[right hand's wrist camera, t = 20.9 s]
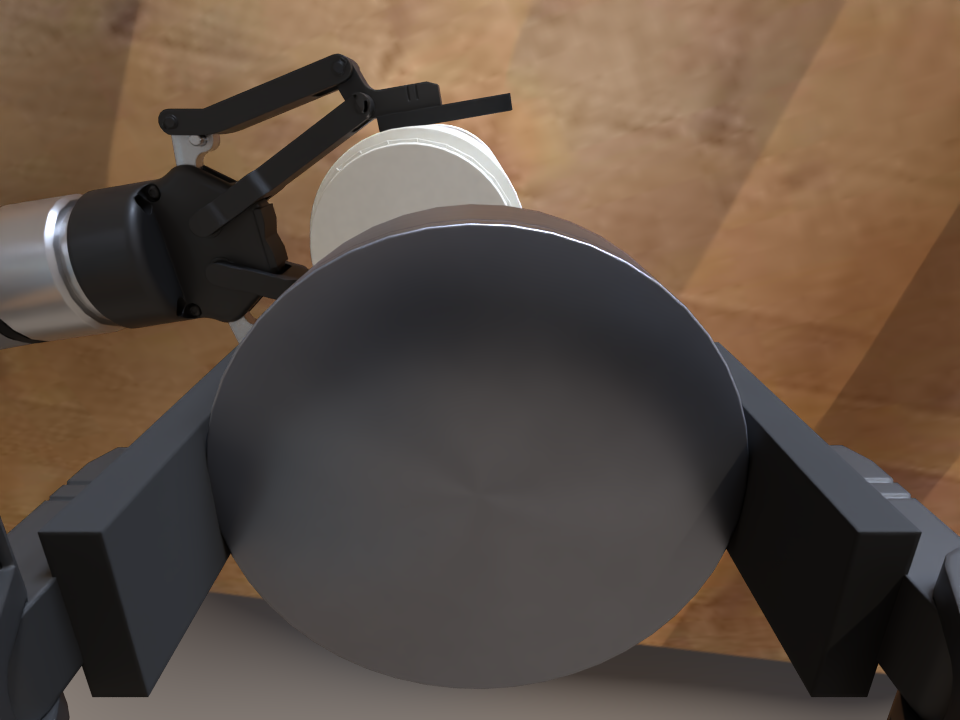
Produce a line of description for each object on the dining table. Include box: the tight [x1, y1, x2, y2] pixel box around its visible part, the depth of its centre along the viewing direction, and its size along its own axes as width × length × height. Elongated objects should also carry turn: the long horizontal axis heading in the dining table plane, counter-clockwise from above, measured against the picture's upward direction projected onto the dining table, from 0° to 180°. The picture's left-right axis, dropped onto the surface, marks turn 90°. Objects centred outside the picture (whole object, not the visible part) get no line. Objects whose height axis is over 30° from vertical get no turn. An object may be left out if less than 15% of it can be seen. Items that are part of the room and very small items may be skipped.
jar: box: [310, 124, 522, 266], centre depth 30 cm, size 8×8×18 cm
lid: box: [207, 204, 749, 689], centre depth 11 cm, size 9×9×2 cm
